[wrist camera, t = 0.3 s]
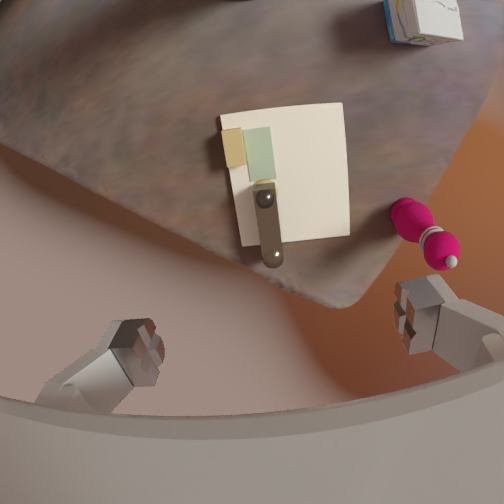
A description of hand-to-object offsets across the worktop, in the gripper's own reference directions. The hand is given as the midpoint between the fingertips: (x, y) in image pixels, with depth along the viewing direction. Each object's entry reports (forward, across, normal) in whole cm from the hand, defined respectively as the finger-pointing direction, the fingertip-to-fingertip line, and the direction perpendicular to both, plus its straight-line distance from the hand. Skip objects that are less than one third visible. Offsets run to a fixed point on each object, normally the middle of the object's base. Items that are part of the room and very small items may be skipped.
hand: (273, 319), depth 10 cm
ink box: (+47, -28, -18) cm, 58 cm away
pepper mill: (+47, -23, +17) cm, 55 cm away
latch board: (+47, -2, +7) cm, 47 cm away
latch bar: (+45, +2, +15) cm, 48 cm away
